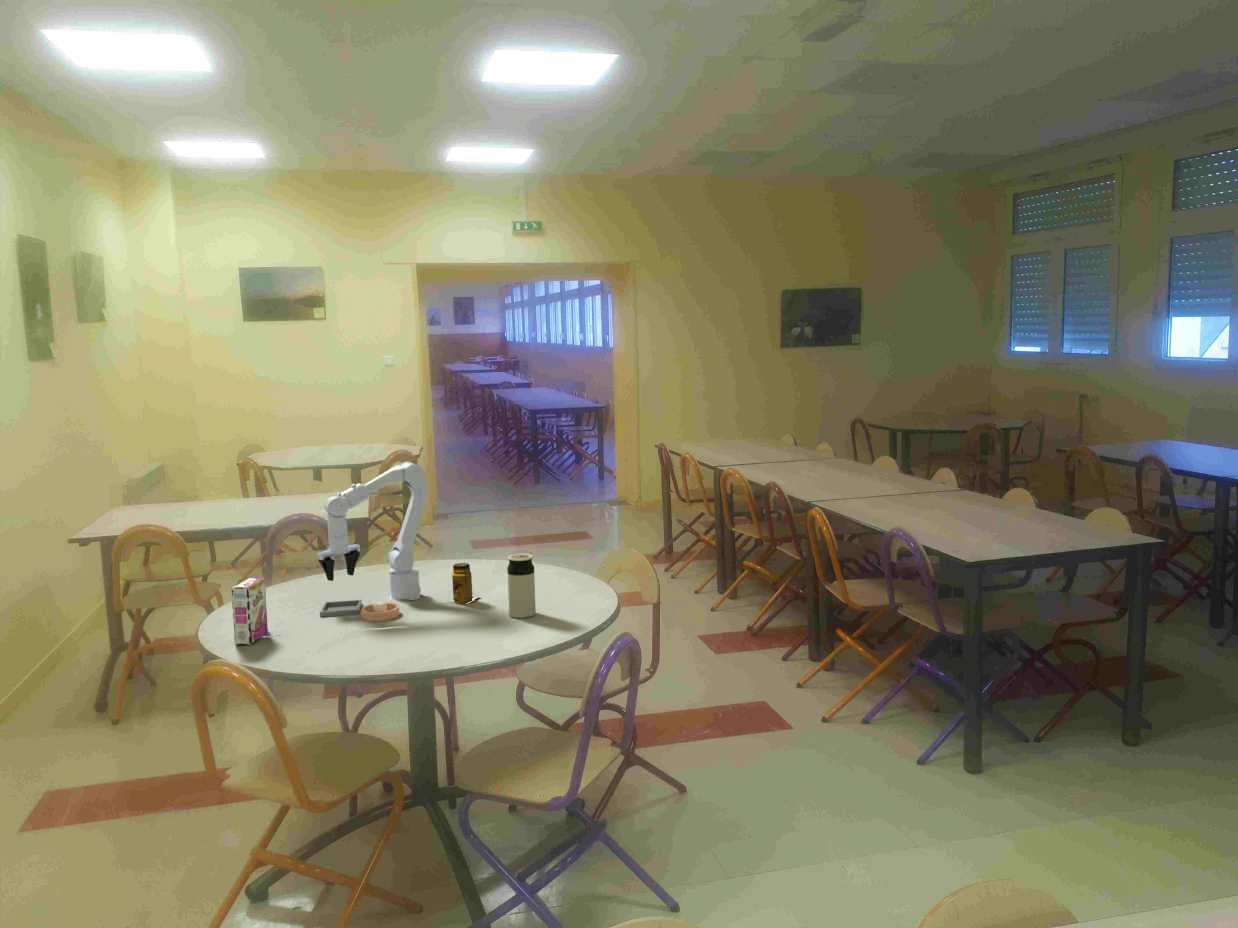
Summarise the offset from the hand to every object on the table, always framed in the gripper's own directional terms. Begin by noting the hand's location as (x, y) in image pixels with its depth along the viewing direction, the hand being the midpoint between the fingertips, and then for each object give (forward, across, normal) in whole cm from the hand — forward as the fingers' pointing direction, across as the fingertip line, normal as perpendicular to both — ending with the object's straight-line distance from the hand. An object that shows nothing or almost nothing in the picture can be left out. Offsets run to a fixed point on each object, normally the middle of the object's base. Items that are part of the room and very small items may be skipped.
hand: (340, 577), depth 279 cm
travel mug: (+10, -23, +54) cm, 60 cm away
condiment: (+10, -26, +28) cm, 39 cm away
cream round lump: (+9, +1, +19) cm, 21 cm away
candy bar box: (+10, +34, +4) cm, 35 cm away
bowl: (+9, +1, +19) cm, 22 cm away
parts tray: (+9, +4, +5) cm, 11 cm away
